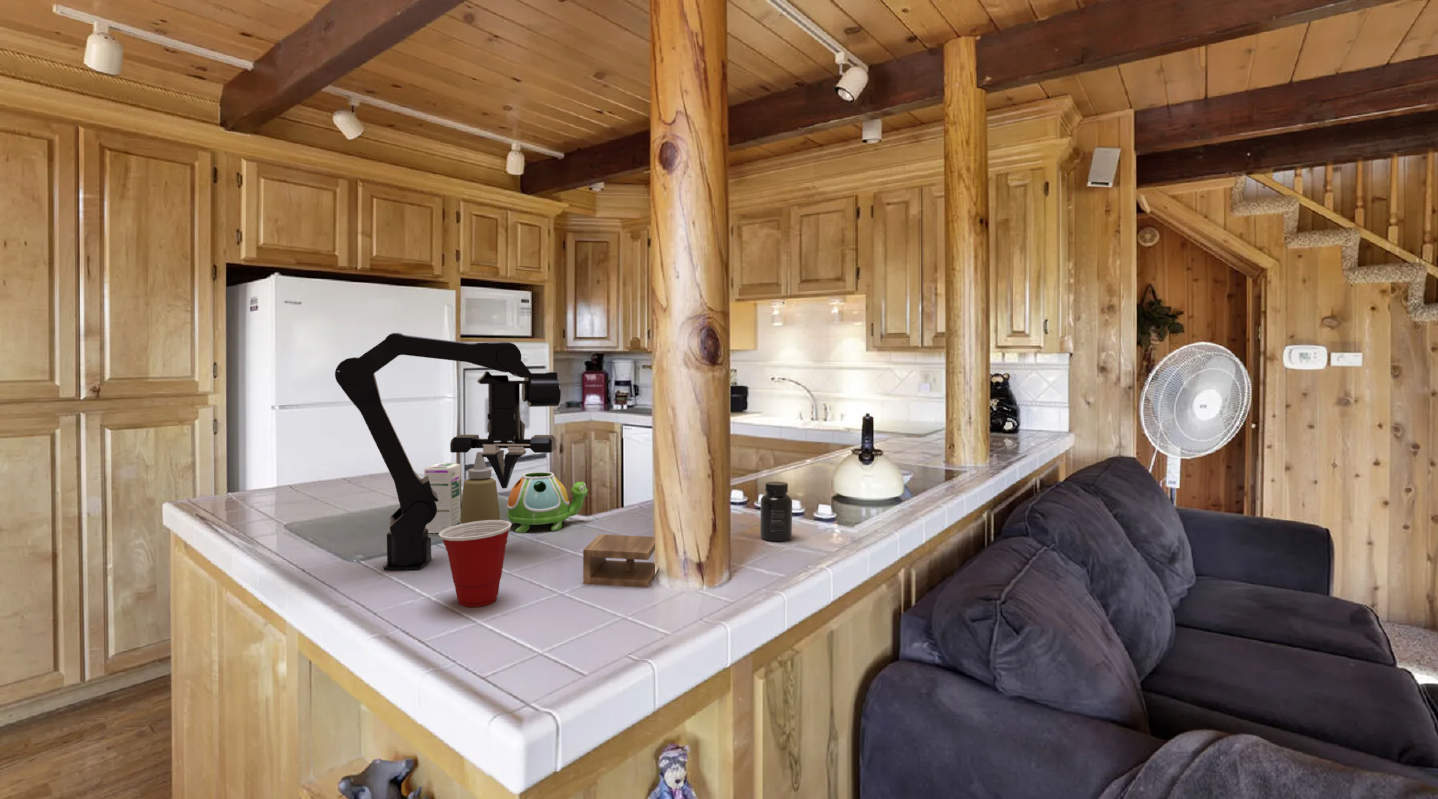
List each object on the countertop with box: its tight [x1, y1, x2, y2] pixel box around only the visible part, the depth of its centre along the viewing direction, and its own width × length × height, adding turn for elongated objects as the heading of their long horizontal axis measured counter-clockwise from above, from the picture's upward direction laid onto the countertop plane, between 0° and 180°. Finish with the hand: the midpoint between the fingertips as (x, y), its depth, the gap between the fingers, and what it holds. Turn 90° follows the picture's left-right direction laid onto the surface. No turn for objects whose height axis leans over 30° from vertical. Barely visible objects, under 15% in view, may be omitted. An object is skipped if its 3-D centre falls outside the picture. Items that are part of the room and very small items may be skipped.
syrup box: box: [423, 462, 462, 534], centre depth 147 cm, size 6×6×14 cm
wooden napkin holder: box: [582, 533, 656, 588], centre depth 119 cm, size 6×10×11 cm
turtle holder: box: [506, 471, 589, 533], centre depth 153 cm, size 12×18×12 cm
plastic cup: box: [438, 519, 512, 608], centre depth 106 cm, size 11×11×12 cm
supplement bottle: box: [759, 481, 793, 542], centre depth 145 cm, size 7×7×12 cm
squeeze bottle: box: [460, 451, 501, 524], centre depth 142 cm, size 8×8×18 cm
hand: (504, 488), depth 130 cm, fingers closed
